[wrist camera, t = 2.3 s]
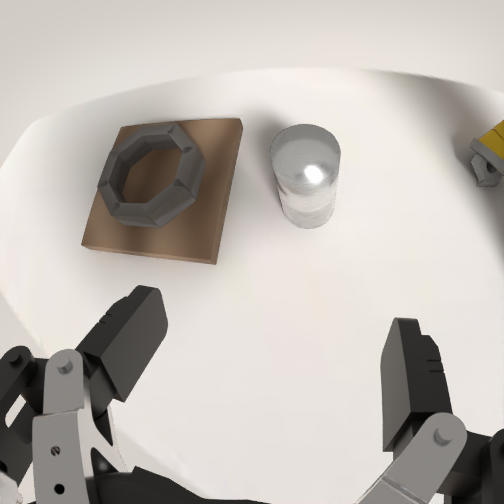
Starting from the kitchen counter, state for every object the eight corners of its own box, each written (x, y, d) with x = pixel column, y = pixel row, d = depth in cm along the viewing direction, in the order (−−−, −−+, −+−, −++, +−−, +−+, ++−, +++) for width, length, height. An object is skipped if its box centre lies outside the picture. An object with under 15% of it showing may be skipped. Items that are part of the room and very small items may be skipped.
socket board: (243, 127, 30) (233, 101, 26) (216, 264, 26) (200, 251, 22) (127, 134, 33) (110, 114, 29) (89, 249, 29) (65, 236, 25)
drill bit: (447, 162, 25) (490, 83, 19) (478, 186, 26) (519, 114, 20) (474, 186, 21) (524, 96, 15) (504, 212, 22) (551, 131, 16)
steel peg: (335, 183, 26) (340, 126, 19) (332, 231, 25) (339, 184, 17) (285, 179, 27) (274, 122, 20) (279, 226, 26) (265, 179, 18)
